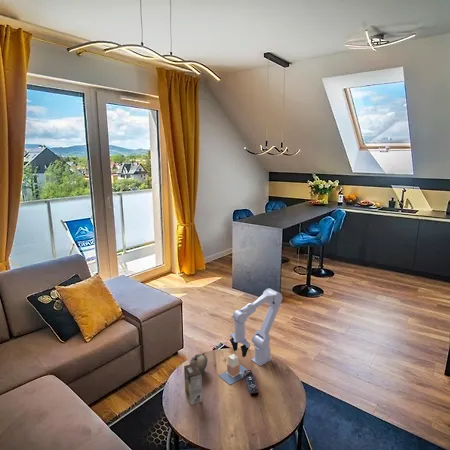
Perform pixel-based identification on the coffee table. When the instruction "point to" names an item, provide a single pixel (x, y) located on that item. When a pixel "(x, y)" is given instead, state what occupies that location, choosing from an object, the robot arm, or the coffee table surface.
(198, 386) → the coffee box
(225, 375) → the blueprint board
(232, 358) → the cream block
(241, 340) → the robot arm
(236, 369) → the terracotta block
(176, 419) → the coffee table surface
